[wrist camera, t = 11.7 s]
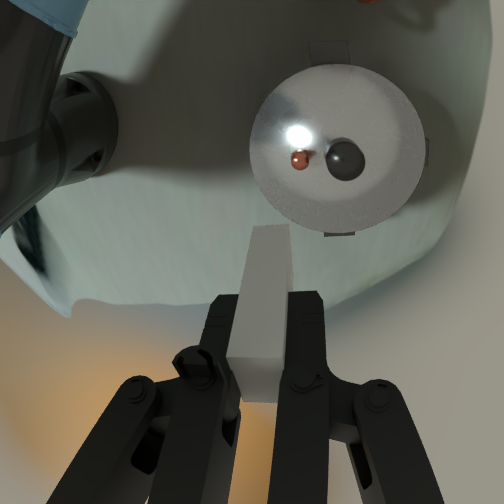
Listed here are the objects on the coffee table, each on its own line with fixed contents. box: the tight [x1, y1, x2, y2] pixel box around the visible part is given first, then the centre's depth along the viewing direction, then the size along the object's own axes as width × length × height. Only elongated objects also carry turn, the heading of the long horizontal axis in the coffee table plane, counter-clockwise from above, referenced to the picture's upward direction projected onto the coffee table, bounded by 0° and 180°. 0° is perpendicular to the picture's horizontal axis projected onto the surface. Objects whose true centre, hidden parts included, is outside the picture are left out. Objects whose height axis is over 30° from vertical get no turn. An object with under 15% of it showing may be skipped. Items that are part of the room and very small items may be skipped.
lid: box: [249, 64, 429, 233], centre depth 23 cm, size 15×15×3 cm
